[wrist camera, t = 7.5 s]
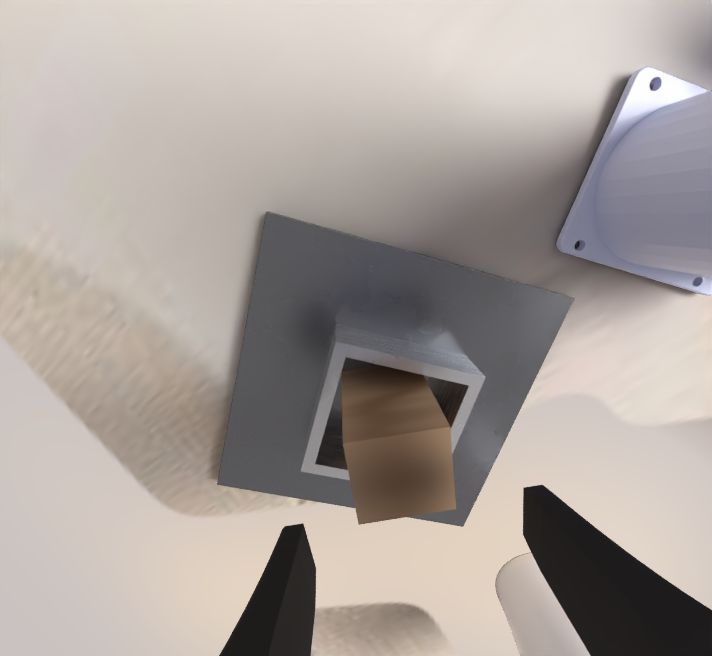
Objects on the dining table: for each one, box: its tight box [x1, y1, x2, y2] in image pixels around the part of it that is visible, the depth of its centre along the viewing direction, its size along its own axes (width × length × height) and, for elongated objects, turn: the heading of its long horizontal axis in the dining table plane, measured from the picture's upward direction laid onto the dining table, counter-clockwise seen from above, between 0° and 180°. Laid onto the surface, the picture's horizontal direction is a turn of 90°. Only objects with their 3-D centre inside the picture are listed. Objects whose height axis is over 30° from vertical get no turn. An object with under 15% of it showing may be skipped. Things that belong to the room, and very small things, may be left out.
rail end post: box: [341, 365, 456, 524], centre depth 16 cm, size 4×4×6 cm
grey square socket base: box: [217, 212, 574, 526], centre depth 18 cm, size 16×16×3 cm
